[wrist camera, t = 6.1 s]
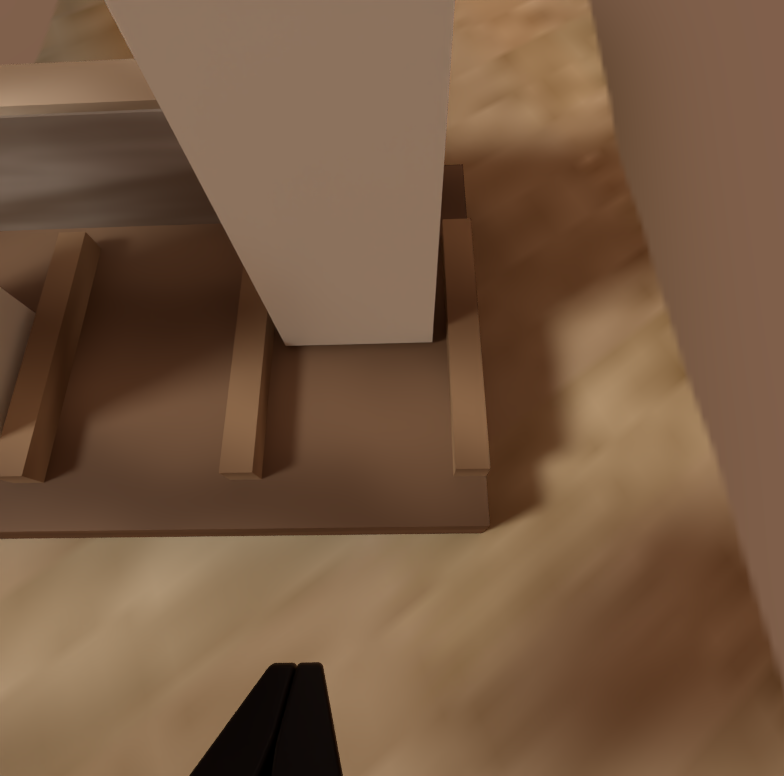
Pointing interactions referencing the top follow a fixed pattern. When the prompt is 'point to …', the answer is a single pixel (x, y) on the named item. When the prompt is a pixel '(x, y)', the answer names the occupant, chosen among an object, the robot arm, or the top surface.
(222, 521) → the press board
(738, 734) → the top surface
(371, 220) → the orange-topped pillar
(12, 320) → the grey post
